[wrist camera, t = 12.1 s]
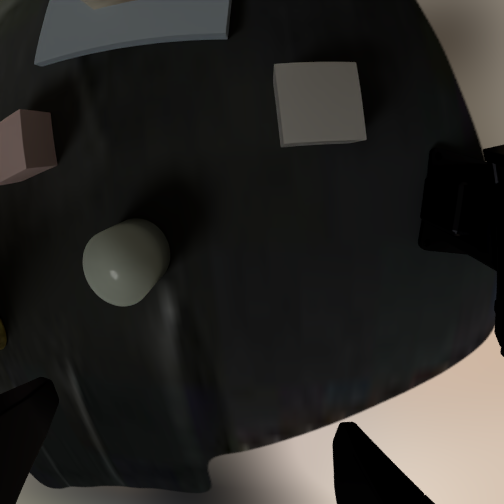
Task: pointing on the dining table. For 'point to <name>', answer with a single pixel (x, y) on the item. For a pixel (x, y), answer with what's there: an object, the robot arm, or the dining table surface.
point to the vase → (2, 335)
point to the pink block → (26, 145)
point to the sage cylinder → (126, 261)
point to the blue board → (127, 26)
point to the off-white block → (318, 103)
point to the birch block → (103, 3)
